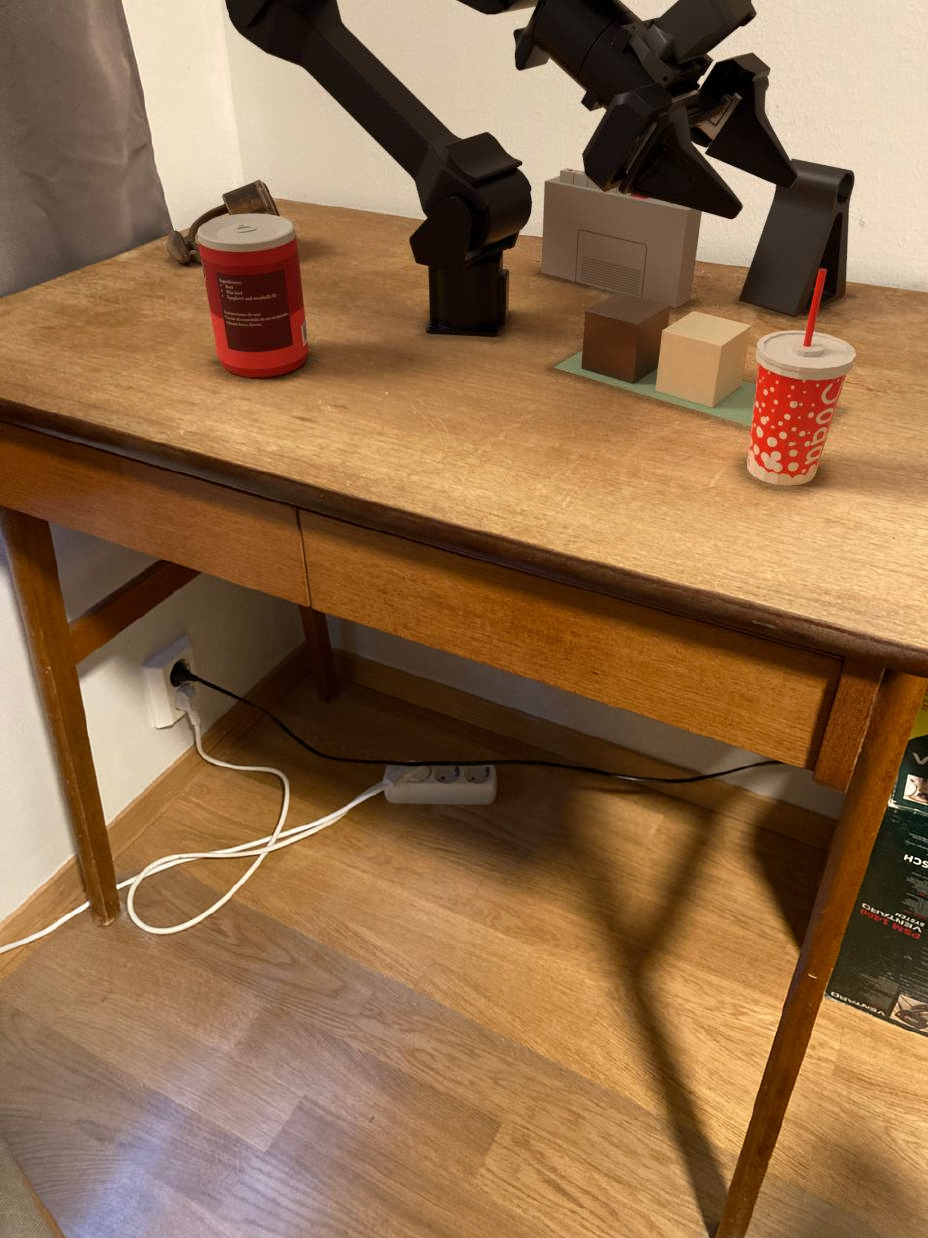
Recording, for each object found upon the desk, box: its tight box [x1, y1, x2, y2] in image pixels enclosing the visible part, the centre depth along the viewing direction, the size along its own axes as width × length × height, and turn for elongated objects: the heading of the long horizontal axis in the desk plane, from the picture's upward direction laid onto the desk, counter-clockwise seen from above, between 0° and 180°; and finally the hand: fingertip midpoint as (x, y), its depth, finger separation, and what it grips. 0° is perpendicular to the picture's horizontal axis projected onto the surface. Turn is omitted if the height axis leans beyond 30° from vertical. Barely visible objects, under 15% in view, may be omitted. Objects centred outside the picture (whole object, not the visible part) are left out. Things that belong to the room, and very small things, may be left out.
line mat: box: [553, 350, 838, 428], centre depth 80 cm, size 22×7×1 cm, turn 52°
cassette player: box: [540, 167, 703, 309], centre depth 95 cm, size 16×3×10 cm, turn 50°
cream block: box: [655, 310, 752, 408], centre depth 78 cm, size 5×5×5 cm
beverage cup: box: [746, 268, 857, 487], centre depth 65 cm, size 6×6×14 cm
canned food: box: [197, 214, 309, 379], centre depth 82 cm, size 8×8×11 cm
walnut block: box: [581, 292, 672, 384], centre depth 81 cm, size 5×5×5 cm
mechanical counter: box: [166, 179, 281, 264], centre depth 105 cm, size 7×13×10 cm
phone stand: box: [738, 158, 856, 318], centre depth 92 cm, size 9×6×12 cm, turn 133°
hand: (767, 197), depth 69 cm, fingers open, 9 cm apart
